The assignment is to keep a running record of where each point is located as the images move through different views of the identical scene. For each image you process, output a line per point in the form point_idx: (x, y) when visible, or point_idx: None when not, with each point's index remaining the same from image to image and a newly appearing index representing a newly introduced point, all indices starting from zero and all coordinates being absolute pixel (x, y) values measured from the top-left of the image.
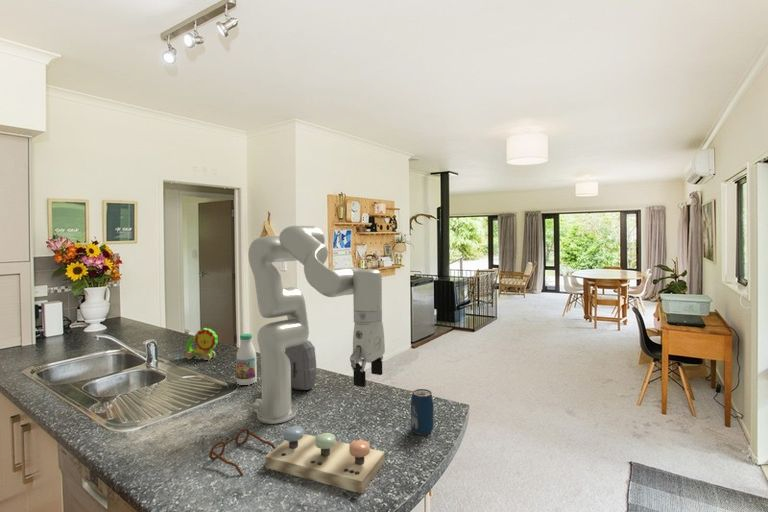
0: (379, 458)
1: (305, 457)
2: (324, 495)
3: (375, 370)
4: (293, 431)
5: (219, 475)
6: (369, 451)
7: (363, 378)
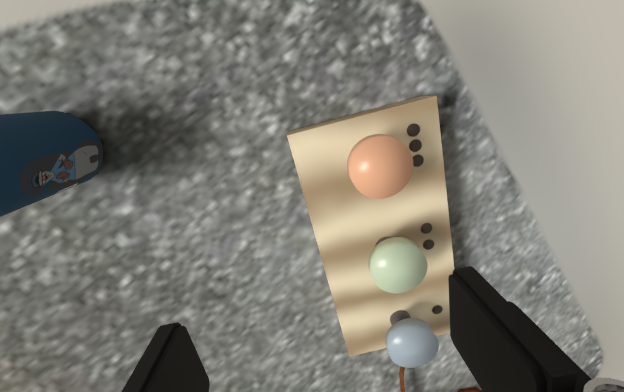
0: (324, 125)
1: None
2: (466, 160)
3: (189, 386)
4: (417, 346)
5: None
6: (368, 136)
7: (516, 318)
